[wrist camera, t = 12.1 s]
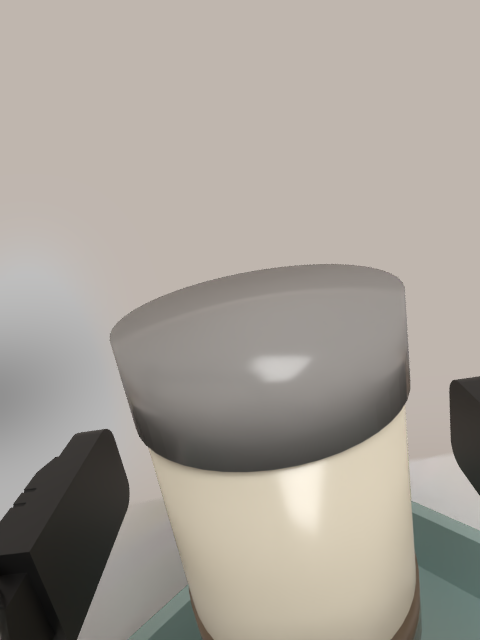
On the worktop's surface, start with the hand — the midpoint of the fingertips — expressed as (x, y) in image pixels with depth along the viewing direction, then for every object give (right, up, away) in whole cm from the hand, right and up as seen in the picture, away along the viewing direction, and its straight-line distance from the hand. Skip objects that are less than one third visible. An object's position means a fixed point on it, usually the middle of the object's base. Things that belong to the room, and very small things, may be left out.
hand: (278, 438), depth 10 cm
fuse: (+2, -9, +1) cm, 9 cm away
